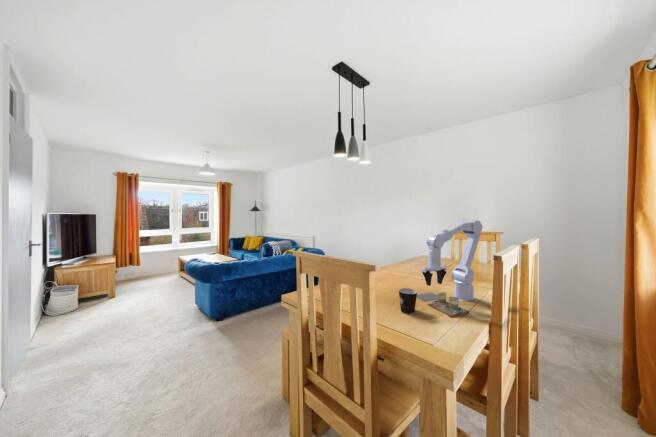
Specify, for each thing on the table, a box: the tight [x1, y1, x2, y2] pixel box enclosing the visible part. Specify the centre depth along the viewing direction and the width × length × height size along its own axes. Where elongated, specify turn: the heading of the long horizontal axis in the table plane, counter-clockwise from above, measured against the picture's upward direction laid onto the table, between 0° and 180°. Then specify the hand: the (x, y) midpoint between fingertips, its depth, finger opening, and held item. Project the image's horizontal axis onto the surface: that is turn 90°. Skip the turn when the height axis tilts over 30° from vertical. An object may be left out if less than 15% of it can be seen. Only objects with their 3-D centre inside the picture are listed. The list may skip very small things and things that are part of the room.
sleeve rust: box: [437, 291, 447, 305], centre depth 124 cm, size 4×4×6 cm
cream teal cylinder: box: [448, 295, 459, 311], centre depth 117 cm, size 4×4×6 cm
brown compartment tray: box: [427, 300, 470, 318], centre depth 121 cm, size 12×14×2 cm
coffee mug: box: [398, 287, 418, 315], centre depth 120 cm, size 12×9×10 cm
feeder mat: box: [416, 292, 438, 303], centre depth 137 cm, size 14×10×1 cm
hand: (434, 284), depth 129 cm, fingers open, 7 cm apart
